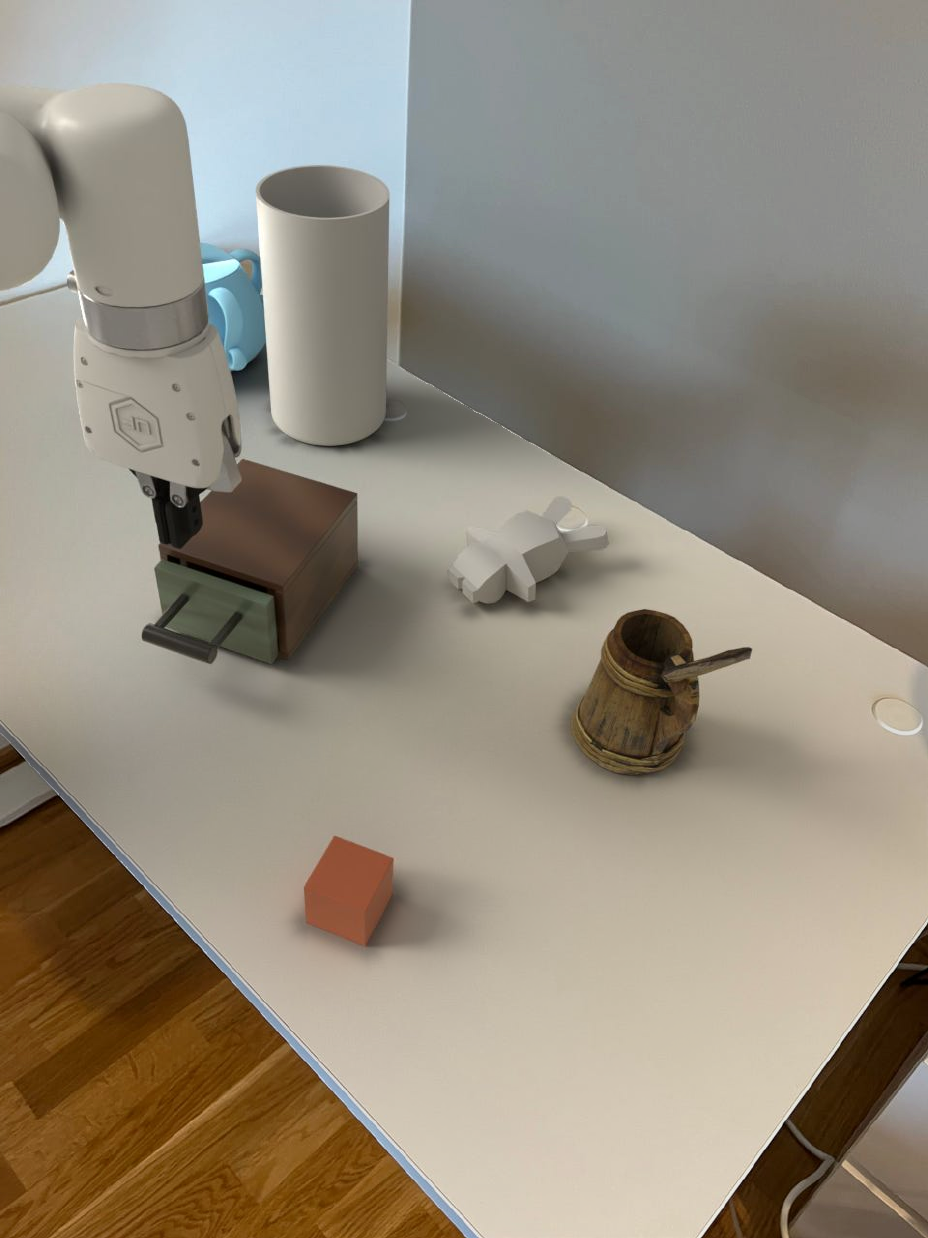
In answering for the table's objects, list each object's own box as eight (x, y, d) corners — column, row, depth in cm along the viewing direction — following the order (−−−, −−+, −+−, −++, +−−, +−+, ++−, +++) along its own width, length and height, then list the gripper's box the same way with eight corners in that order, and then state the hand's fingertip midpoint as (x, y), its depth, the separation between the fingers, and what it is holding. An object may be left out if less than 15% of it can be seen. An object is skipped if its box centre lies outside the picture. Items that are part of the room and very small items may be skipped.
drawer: (237, 709, 86) (230, 650, 81) (126, 669, 88) (113, 609, 83) (338, 575, 98) (337, 516, 93) (239, 542, 100) (232, 484, 96)
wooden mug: (626, 834, 80) (674, 670, 68) (554, 705, 89) (585, 539, 77) (728, 805, 83) (793, 642, 70) (649, 682, 92) (694, 518, 79)
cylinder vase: (249, 409, 118) (229, 182, 101) (340, 374, 124) (336, 155, 107) (316, 463, 112) (307, 230, 94) (408, 423, 118) (416, 199, 101)
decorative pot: (243, 405, 119) (233, 291, 109) (104, 384, 120) (82, 269, 110) (285, 334, 130) (279, 226, 121) (158, 315, 131) (142, 206, 122)
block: (305, 923, 73) (303, 887, 70) (335, 871, 76) (334, 834, 73) (365, 947, 72) (365, 912, 69) (392, 893, 75) (394, 857, 72)
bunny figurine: (428, 538, 98) (555, 471, 103) (431, 577, 101) (553, 511, 107) (491, 597, 92) (621, 524, 98) (492, 636, 96) (617, 563, 102)
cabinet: (288, 660, 91) (283, 586, 85) (170, 620, 94) (157, 544, 88) (358, 566, 100) (357, 492, 94) (249, 531, 103) (242, 458, 97)
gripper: (5, 304, 65) (64, 536, 78) (219, 364, 62) (244, 596, 75) (80, 256, 71) (124, 481, 83) (281, 308, 67) (295, 534, 80)
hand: (181, 535), depth 79 cm, fingers closed
